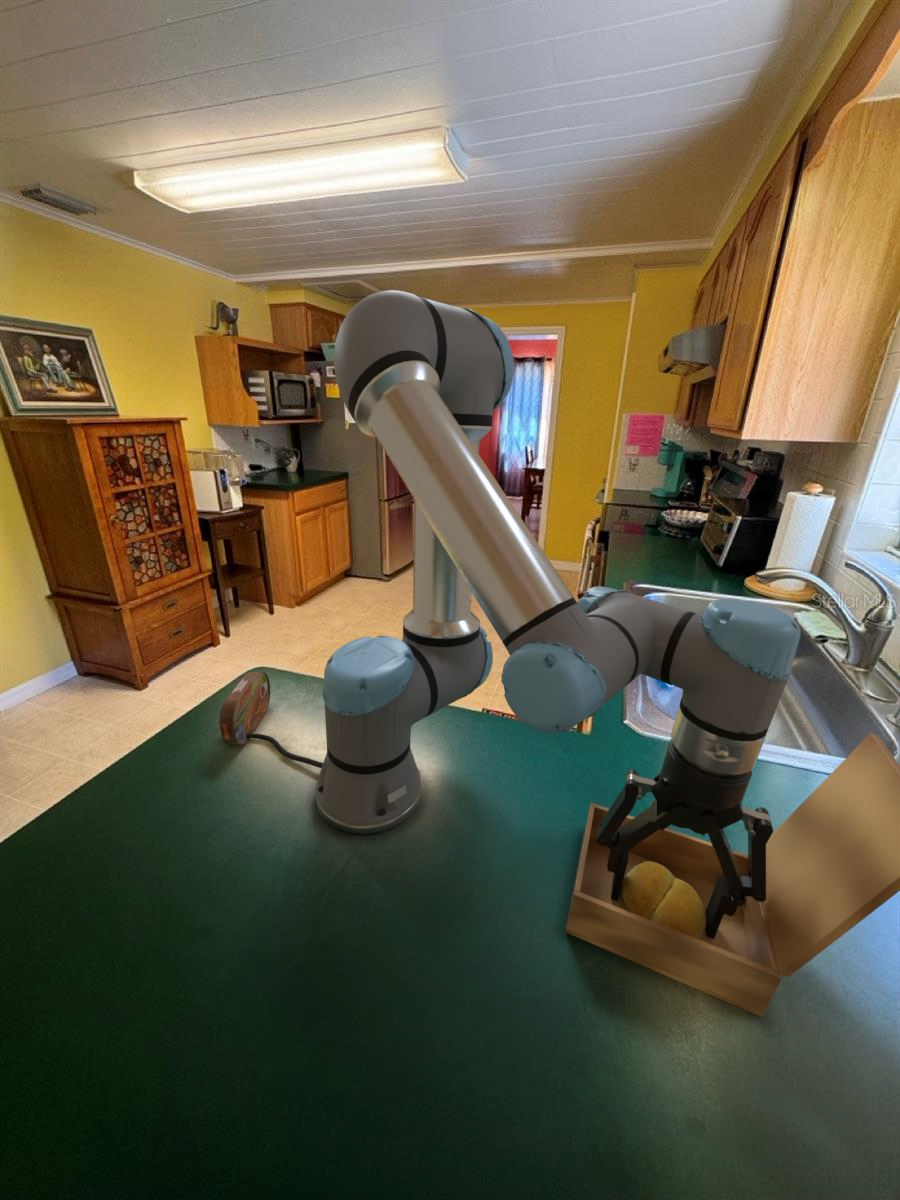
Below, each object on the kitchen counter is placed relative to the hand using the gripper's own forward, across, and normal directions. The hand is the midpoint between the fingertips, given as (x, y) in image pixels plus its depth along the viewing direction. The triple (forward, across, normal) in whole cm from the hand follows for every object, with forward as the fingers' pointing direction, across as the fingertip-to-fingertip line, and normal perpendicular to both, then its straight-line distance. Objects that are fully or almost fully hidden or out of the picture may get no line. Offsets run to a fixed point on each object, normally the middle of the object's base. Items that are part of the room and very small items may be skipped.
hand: (660, 907), depth 55 cm
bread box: (+1, 0, 0) cm, 1 cm away
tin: (+1, -67, +5) cm, 67 cm away
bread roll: (+1, 0, 0) cm, 1 cm away
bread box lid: (-15, +12, 0) cm, 19 cm away
